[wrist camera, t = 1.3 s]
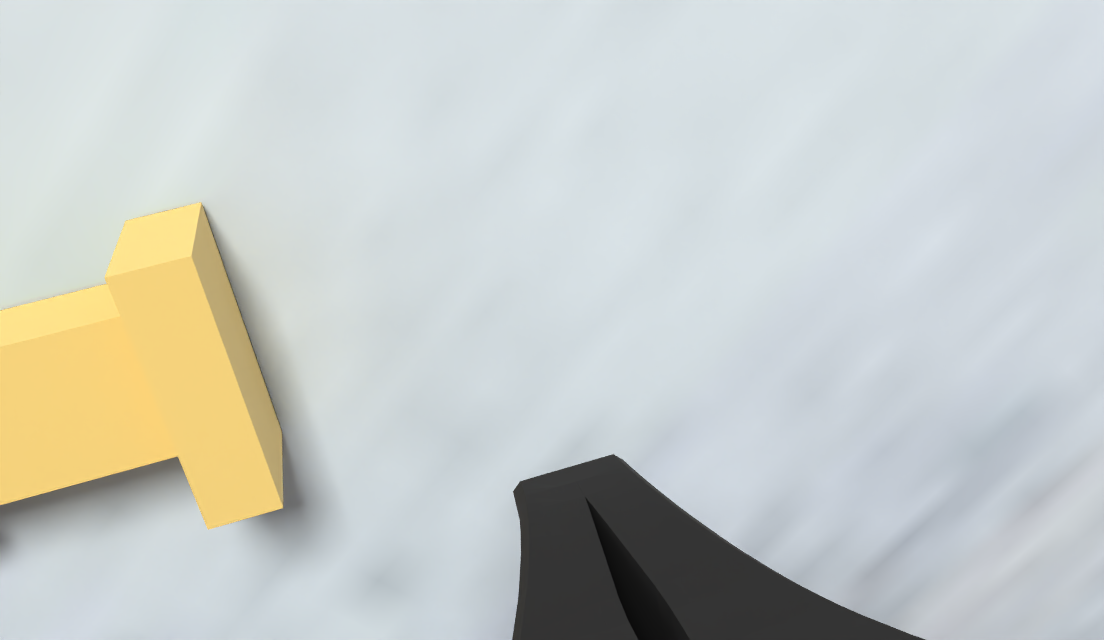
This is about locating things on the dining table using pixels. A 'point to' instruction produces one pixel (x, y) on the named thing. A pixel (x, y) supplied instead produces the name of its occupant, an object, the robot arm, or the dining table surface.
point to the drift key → (141, 378)
